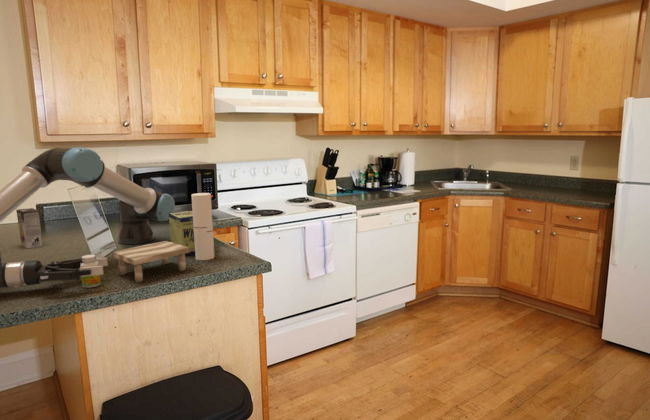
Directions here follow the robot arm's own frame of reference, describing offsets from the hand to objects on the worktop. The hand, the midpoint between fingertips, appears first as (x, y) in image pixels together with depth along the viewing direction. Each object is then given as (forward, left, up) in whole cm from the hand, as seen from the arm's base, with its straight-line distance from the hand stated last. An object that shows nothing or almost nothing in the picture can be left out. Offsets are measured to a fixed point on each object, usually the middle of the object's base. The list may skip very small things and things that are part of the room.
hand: (105, 265), depth 147 cm
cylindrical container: (-1, +38, -6) cm, 39 cm away
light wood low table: (0, +16, -6) cm, 17 cm away
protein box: (-16, +40, -6) cm, 43 cm away
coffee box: (-78, 0, -6) cm, 78 cm away
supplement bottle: (-2, -4, -6) cm, 8 cm away
